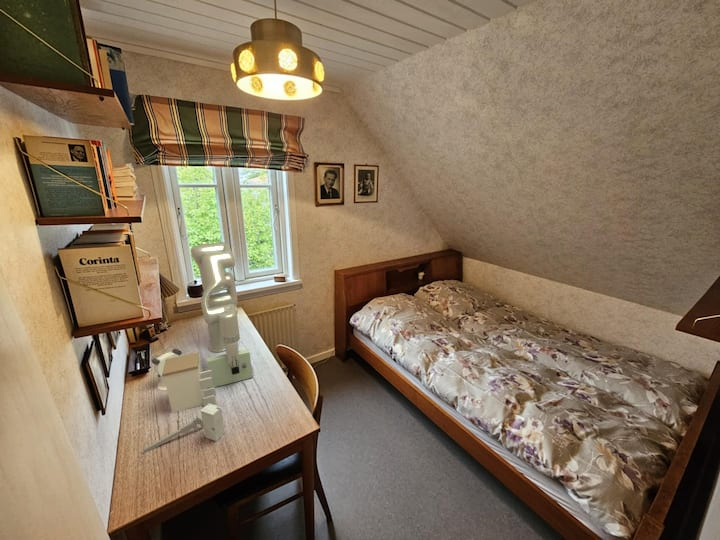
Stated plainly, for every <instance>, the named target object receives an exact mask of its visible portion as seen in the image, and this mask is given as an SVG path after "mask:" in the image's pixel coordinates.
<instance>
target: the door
mask: <svg viewBox="0 0 720 540" xmlns="http://www.w3.org/2000/svg"><path fill="white" fill-rule="evenodd" d="M206 364H207V371H208V370H211V371H212V376H213V379H212V383H213V386H212V387H214V388H216V387H221V386H224V385H228V384H233V383H236V382H240V381H243V380H244V381H245V380H248V379H253V370H252V362H251V353H250V349H249V348H247V349H243V350H239V362H238V365H239V372H240V373H238V374H234V375H232V369H231V367H232V365H231V364H228V362H227V355H226V353H225V354H219V355H215V356H210V357H207V358H206ZM232 364H233V363H232ZM236 364H237V363H236ZM212 387H210V388H212Z"/></svg>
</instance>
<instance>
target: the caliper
mask: <svg viewBox="0 0 720 540" xmlns="http://www.w3.org/2000/svg"><path fill="white" fill-rule="evenodd" d="M198 425H199V426H200V427H201V429H203V422H202V417H198V416H196V418H195V417H193V420H191V421H190V422H189V423H186V424H185V425H182V426H181V427H180V428H178V429H177V430H175V431H173V432H172V433H170V434H168V435H165V436H164V437H162V438H160V439H158V440H156V441H155V442H153V443H150V444H149V445H148V446H145V447H144V449H142V450H141V451H140V455H143V454H144V453H147V452H150V451H151V450H153V449H156V448H158V447H159V446H161V445H163V444H165V443H166V442H168V441H170V440H172V439H174V438H176V437H178V436H179V435H181V434H186V433H189V431H191V430H192V429H194V430H195V431H196V432H198V431H199V430H200V429H199V428H198ZM203 430H204V429H203Z"/></svg>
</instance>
